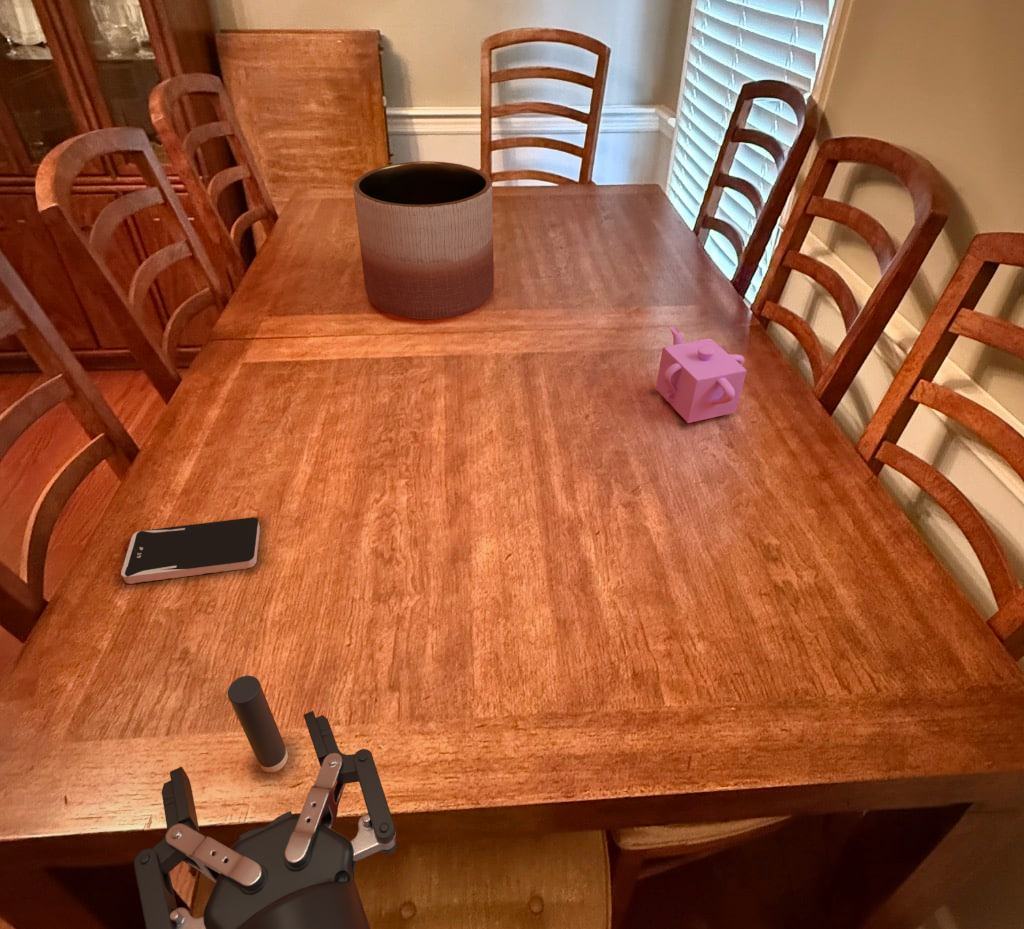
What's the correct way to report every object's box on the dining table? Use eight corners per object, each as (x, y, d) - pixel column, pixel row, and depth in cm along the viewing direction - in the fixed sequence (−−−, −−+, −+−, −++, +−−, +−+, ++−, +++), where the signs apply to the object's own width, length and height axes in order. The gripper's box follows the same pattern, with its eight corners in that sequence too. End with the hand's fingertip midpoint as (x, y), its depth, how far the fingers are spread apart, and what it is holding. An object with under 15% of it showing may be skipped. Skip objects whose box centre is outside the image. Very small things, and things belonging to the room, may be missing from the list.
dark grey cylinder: (275, 777, 64) (244, 707, 57) (253, 765, 65) (220, 695, 57) (293, 753, 66) (266, 682, 58) (272, 741, 67) (242, 670, 59)
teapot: (629, 380, 116) (637, 326, 110) (701, 365, 120) (713, 312, 113) (685, 442, 103) (698, 385, 97) (764, 424, 107) (781, 368, 100)
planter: (360, 274, 146) (345, 165, 132) (478, 262, 151) (475, 156, 137) (374, 333, 127) (358, 212, 113) (508, 316, 133) (509, 200, 118)
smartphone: (253, 560, 83) (119, 577, 81) (256, 568, 84) (123, 585, 81) (258, 516, 89) (133, 531, 86) (260, 524, 90) (136, 539, 87)
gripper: (438, 912, 36) (341, 670, 47) (142, 1084, 31) (110, 766, 41) (445, 956, 41) (356, 728, 52) (190, 1111, 35) (150, 820, 46)
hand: (246, 745), depth 46 cm, fingers open, 8 cm apart
